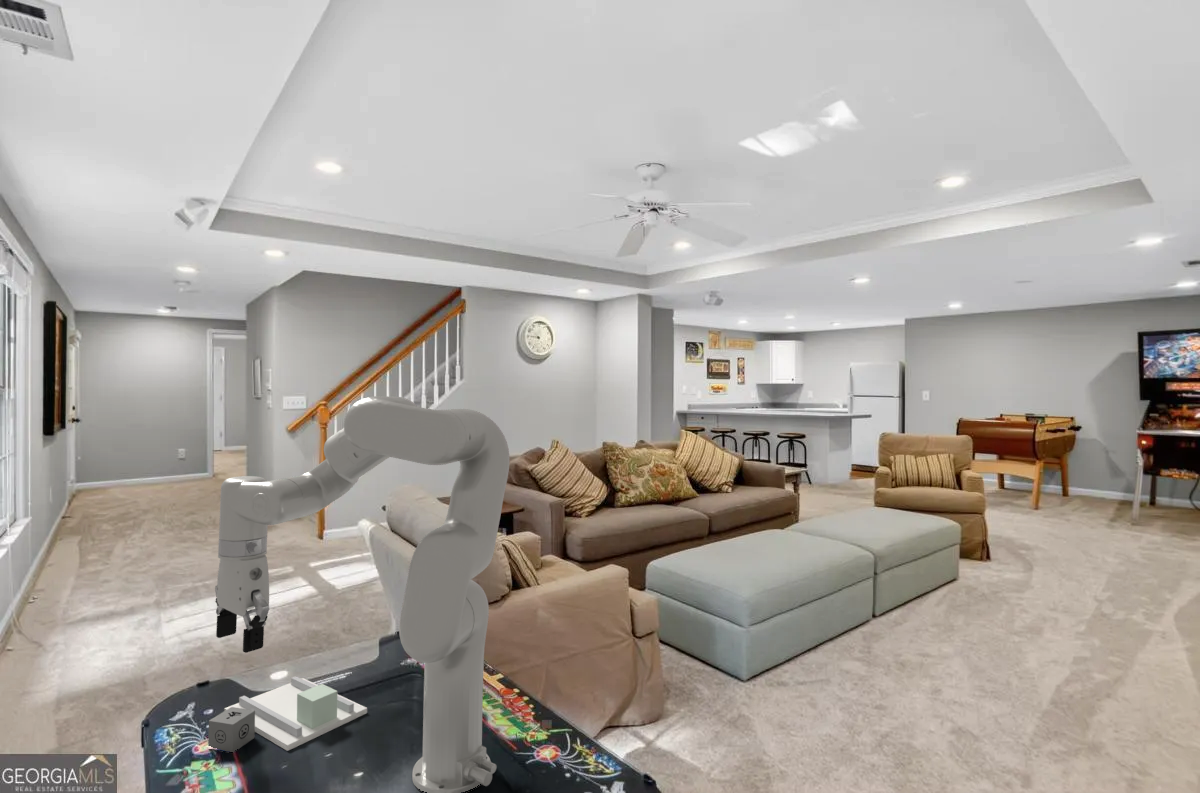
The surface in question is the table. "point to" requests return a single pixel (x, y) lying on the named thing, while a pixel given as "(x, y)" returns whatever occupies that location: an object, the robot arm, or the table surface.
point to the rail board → (290, 712)
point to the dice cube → (232, 729)
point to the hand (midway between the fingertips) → (239, 642)
